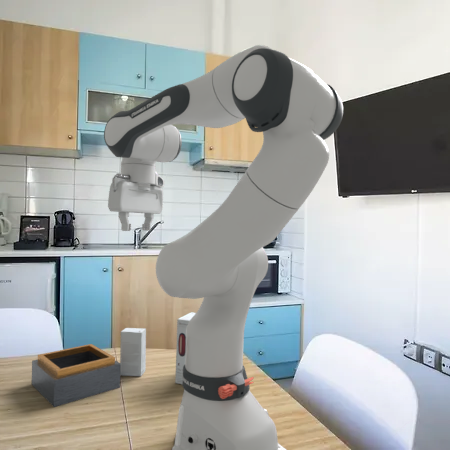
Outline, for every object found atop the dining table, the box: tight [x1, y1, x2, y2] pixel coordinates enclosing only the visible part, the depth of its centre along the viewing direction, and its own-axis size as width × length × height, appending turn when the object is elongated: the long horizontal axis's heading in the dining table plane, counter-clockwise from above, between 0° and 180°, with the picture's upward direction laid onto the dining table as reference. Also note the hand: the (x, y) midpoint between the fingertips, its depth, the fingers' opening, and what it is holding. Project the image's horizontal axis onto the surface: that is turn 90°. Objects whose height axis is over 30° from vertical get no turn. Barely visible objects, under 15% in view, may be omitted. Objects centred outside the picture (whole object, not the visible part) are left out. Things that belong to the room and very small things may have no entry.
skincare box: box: [119, 327, 147, 377], centre depth 104 cm, size 6×4×12 cm
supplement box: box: [174, 311, 197, 385], centre depth 101 cm, size 10×9×17 cm
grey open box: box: [31, 343, 121, 408], centre depth 97 cm, size 19×16×8 cm
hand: (136, 230), depth 98 cm, fingers open, 8 cm apart
